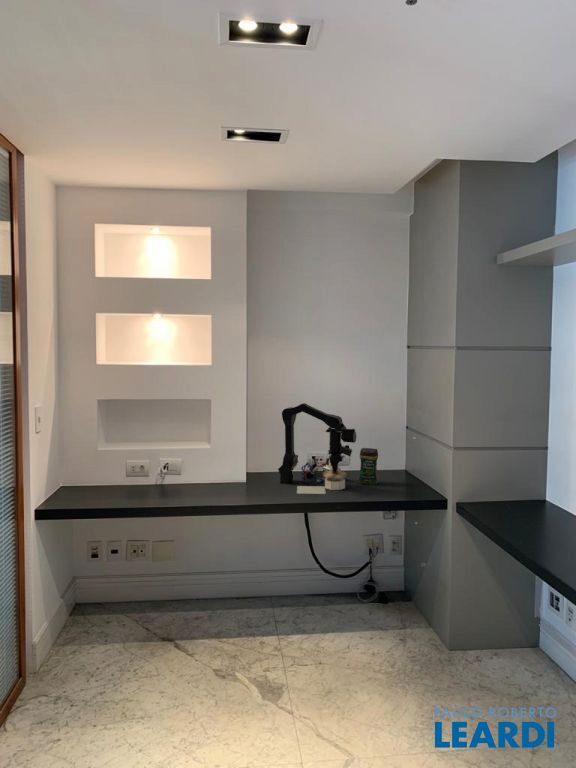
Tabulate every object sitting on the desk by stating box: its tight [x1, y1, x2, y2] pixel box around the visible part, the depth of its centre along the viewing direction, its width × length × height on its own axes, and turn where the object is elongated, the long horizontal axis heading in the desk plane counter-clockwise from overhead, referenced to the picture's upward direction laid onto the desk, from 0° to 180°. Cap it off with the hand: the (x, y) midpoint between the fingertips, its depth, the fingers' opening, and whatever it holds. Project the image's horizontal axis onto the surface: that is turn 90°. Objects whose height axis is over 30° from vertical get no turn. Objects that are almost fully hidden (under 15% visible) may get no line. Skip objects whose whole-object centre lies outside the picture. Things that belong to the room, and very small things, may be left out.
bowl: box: [324, 478, 346, 491], centre depth 292 cm, size 10×10×4 cm
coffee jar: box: [358, 447, 379, 486], centre depth 302 cm, size 10×8×19 cm
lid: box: [322, 465, 348, 479], centre depth 292 cm, size 12×12×5 cm
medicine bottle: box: [322, 457, 342, 481], centre depth 308 cm, size 7×7×12 cm
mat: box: [296, 485, 327, 495], centre depth 287 cm, size 14×14×1 cm
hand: (334, 471), depth 292 cm, fingers closed on lid, 3 cm apart
